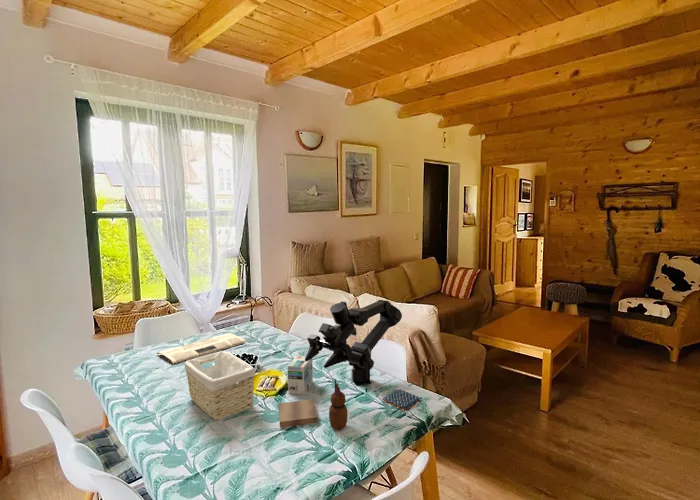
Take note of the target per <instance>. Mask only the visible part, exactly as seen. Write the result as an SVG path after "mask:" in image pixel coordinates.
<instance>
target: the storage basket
mask: <svg viewBox="0 0 700 500" xmlns="http://www.w3.org/2000/svg"><path fill="white" fill-rule="evenodd" d="M213 361H214V363H215V365H212V366H210V367H206V368H202V366H201V365H203V364H207V363H210V362H213ZM184 370H185V374H186V377H187V378H186V379H187V384H188V391H189V397H190V399H191V400H192V401H194V403H195V404H196V405H197V406H198V407H199V408H200V409H202V411H203V412H204V413H206V414H207V415H209V417H210V418H212V419H213V420H215V421H220V420H223V419H225V418H228V417H230V416H233V415H236V414H237V413H240V412H242V411H244V410H248V409H249V408H251V407H253V406H254V396H255V395H254V394H255V393H254V389H255V386H254V381H255V379H254V378H255V376H256V372H255V369H254V367H253V366H252V365H251V364H249V363H247V362H246V361H244V360H243V359H241V358H239V357H237V355H235V354H233V353H230V352H228V351H225V350H220V351H216V352H213V353H209V354H206V355H203V356H199V357H196V358H193V359H189V360H186V361H184Z"/></svg>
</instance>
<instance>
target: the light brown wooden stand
mask: <svg viewBox="0 0 700 500" xmlns="http://www.w3.org/2000/svg"><path fill="white" fill-rule="evenodd" d="M314 401H315V400H314V398H313V399H305V400H296V401H288V402H280V403H277V406H278V419H279V420H278V421H279V428H280V429H281V428H282V429H283V428H290V427H298V426H304V425H305V426H306V425H312V424H318V423H319V419H318V418H319V417H318V412H317V409H316V406H315V402H314Z"/></svg>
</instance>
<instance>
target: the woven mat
mask: <svg viewBox="0 0 700 500" xmlns="http://www.w3.org/2000/svg"><path fill="white" fill-rule="evenodd" d="M382 400H383V401H382V403H385V404H387V405H390V406H392V407H395V408H397V409H399V410H400V411H401V410H402V411H403V412H405V411H408V410H409V409H410V408H412V407H414V406H415V405H417V404H418V403H417V402H419V403H420V401H421V402H422V401H423V400H422V397H421V396H418V395H415V394H413V393H411V392H409V391H405V390H404V389H397V390H396V391H394V392H391V393H389V394H388V395H386V396H385V397H384V396H383V398H382ZM416 403H417V404H416ZM413 405H414V406H413ZM409 407H410V408H409Z"/></svg>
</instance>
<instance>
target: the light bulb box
mask: <svg viewBox="0 0 700 500" xmlns="http://www.w3.org/2000/svg"><path fill="white" fill-rule="evenodd" d="M305 357H306V356H303V355H301V356H300V355H296V356H295V357H294V358H293V359H292V361H291V362H290V363H289V364H288V365H287V384H288V385H287V387H288V390H287V391H288V394H293V395H303V396H305V395H306V393H307V392H308V391H309V389H310V388H311V387H312V385H313V384H314V381H313V380H314V379H313V377H314V376H313V375H314V374H313V358H312V359H310V360H309V361H307V362H306V361H305Z"/></svg>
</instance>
